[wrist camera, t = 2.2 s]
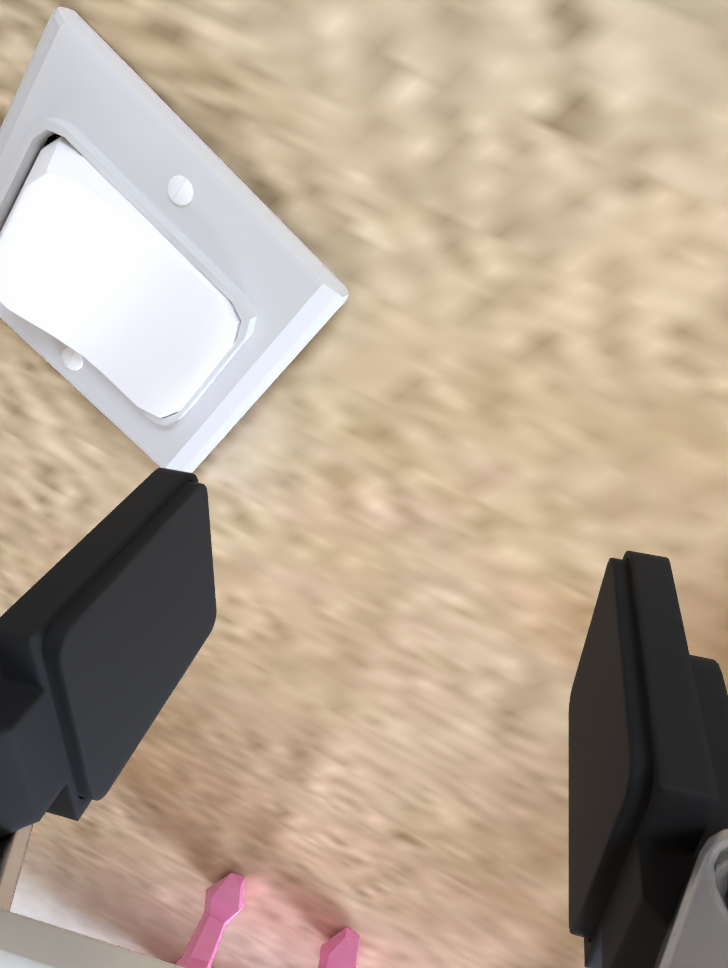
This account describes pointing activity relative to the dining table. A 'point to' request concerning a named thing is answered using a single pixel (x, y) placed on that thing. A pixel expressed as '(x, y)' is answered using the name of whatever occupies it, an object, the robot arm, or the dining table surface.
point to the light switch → (144, 254)
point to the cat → (226, 904)
